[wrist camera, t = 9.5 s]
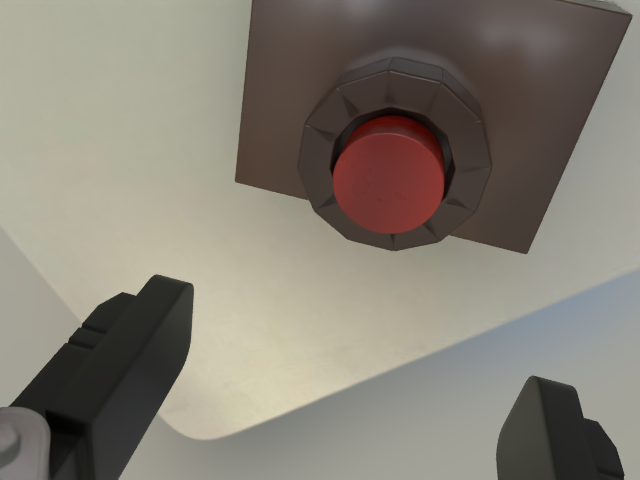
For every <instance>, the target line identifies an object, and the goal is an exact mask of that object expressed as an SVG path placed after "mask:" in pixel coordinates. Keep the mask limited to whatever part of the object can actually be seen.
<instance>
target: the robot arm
mask: <svg viewBox="0 0 640 480" xmlns="http://www.w3.org/2000/svg"><path fill="white" fill-rule="evenodd" d="M193 298H194V287H193V285H192V284H191V283H188V282H184V281H180V280H176V279H173V278H169V277H165V276H161V275H158V274H156V275H154V276H152V277H151V278H150V280H149V281H148V282H147V283H146V284H145V286H144V287H143V288H142V289H141V291H140V292H139V293H138V294H137V296H135V295H131V294H128V293H124V292H122V293H120V294H118V295H116V296H114V297H113V298H111V299H109V300H107V301H105V302H104V303H102V304H100V305H98V306H97V308H96V309H95V310H94V311H93V312H92V313H91V314H90V316H89V317H88V318H87V319H86V320H85V321H84V322H83V323H82V327H81V328H78V329H77V330H76V332H75V333H74V334H73V335H72V336H71V337H70V338H69V341H68V343H65V344H64V345H63V346H62V348H60V350H59V351H58V352H57V353H56V354H55V355H54V356H53V358H52V359H51V360H50V361H49V362H48V363H47V364H46V365H45V367H44V368H43V369H42V370H41V371H40V372H39V373H38V375H37V376H36V377H35V378H34V379H33V380H32V382H31V383H30V384H29V385H28V386H27V387H26V388H25V389H24V390H23V392H22V393H21V394H20V395H19V396H18V397H17V398H16V399H15V401H14V402H13V403H12V404H11V405H10V406H8V407H1V408H0V480H118V479H119V477H120V475H121V474H122V472H123V470H124V468H125V467H126V465H127V463H128V462H129V460H130V458H131V456H132V455H133V453H134V451H135V450H136V448H137V446H138V444H139V443H140V441H141V439H142V437H143V436H144V434H145V432H146V431H147V429H148V427H149V425H150V424H151V422H152V420H153V418H154V417H155V415H156V413H157V412H158V410H159V408H160V406H161V405H162V403H163V401H164V400H165V398H166V396H167V394H168V393H169V391H170V389H171V387H172V386H173V384H174V382H175V381H176V379H177V377H178V375H179V374H180V372H181V370H182V368H183V366H184V364H185V361H186V358H187V355H188V352H189V348H190V343H191V330H192V314H193ZM496 460H497V473H498V480H624V472H623V468H622V465H621V462H620V458H619V455H618V452H617V449H616V447H615V445H614V444H613V443H612V441H611V440H610V438H609V437H608V436H607V434H606V433H605V431H604V430H603V428H602V427H601V426H600V424H599V423H598V422H597V421H593V420H590V419H586V418H584V417H583V413H582V409H581V406H580V402H579V398H578V394H577V391H576V389H575V388H574V387H573V386H571V385H567V384H563V383H559V382H556V381H552V380H548V379H544V378H540V377H537V376H531V377H529V378H528V380H527V381H526V383H525V385H524V387H523V389H522V390H521V392H520V394H519V396H518V398H517V400H516V402H515V404H514V406H513V408H512V410H511V411H510V413H509V415H508V417H507V419H506V421H505V423H504V425H503V427H502V429H501V432H500V435H499V439H498V444H497V453H496Z"/></svg>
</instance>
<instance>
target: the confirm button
mask: <svg viewBox="0 0 640 480" xmlns="http://www.w3.org/2000/svg"><path fill="white" fill-rule="evenodd" d="M444 180H445V159H444V153H443V150H442V147H441V145H440V143H439V141H438V139H437V138H436V137H435V135H434V134H433V133H432V132H431V131H430V130H429V129H428V128H427V127H426V126H424V125H423V124H421V123H420V122H418V121H416V120H414V119H411V118H408V117H405V116H399V115H385V116H380V117H376V118H373V119H370V120H368V121H366V122H364V123H363V124H361V125H360V126H358V127H357V128H356V129H355V130H354V131H353V132H352V133H351V135H350V136H349V137H348V139H347V141H346V143H345V145H344V147H343V149H342V152H341V154H340V156H339V158H338V161H337V163H336V165H335V168H334V172H333V190H334V194H335V197H336V200H337V202H338V204H339V206H340V207H341V209H342V210H343V212H344V213H345V214H346V215H347V216H348V217H349V218H350V219H351V220H352V221H354V222H355V223H356V224H358V225H360V226H361V227H363V228H365V229H368V230H371V231H374V232H378V233H385V234H396V233H402V232H406V231H409V230H412V229H414V228H416V227H418V226H420V225H422V224H423V223H424V222H426V221H427V220H428V219H429V218H430V217H431V216H432V215H433V214H434V213H435V211H436V210H437V208H438V207H439V205H440V202H441V200H442V197H443V193H444Z"/></svg>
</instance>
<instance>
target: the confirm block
mask: <svg viewBox="0 0 640 480" xmlns="http://www.w3.org/2000/svg"><path fill="white" fill-rule="evenodd" d="M631 20H632V15H631V14H630V13H628V12H627V11H625V10H623V9H622V8H620V7H618V6H617V5H615V4H611V3H606V2H602V1H597V0H252V9H251V19H250V30H249V40H248V50H247V61H246V71H245V82H244V92H243V102H242V113H241V123H240V133H239V144H238V154H237V164H236V175H235V182H237V183H241V184H245V185H249V186H253V187H257V188H261V189H265V190H269V191H273V192H277V193H281V194H285V195H289V196H293V197H297V198H301V199H305V200H309V201H310V203H311V205H312V208H313V210H314V211H315V212H316V213H317V214H318V215H319V216H320V217H321V218H323V219H324V220H325V221H326V222H327V223H329V224H330V225H331V226H332V227H333V228H335V229H336V230H337V231H338V232H339V233H340V234H342V235H343V236H344V237H345V238H346V239H348V240H351V241H355V242H359V243H363V244H367V245H371V246H375V247H379V248H383V249H386V250H390V251H393V250H394V251H398V250H403V249H408V248H413V247H418V246H423V245H428V244H433V243H437V242H439V241H441V240H443V239H444V238H445V237H446V236H448V235H451V236H455V237H459V238H463V239H467V240H471V241H475V242H479V243H483V244H487V245H491V246H495V247H499V248H503V249H507V250H511V251H515V252H519V253H523V254H527V253H528V251H529V249H530V246H531V244H532V242H533V240H534V237H535V235H536V233H537V231H538V228H539V226H540V224H541V222H542V220H543V217H544V215H545V213H546V211H547V208H548V206H549V204H550V202H551V199H552V197H553V195H554V193H555V190H556V188H557V186H558V184H559V181H560V179H561V177H562V175H563V172H564V170H565V168H566V166H567V163H568V161H569V159H570V157H571V154H572V152H573V150H574V148H575V145H576V143H577V141H578V139H579V136H580V134H581V132H582V130H583V127H584V125H585V123H586V121H587V118H588V116H589V114H590V112H591V109H592V107H593V105H594V103H595V100H596V98H597V96H598V94H599V91H600V89H601V87H602V85H603V82H604V80H605V78H606V76H607V73H608V71H609V69H610V67H611V64H612V62H613V60H614V58H615V55H616V53H617V51H618V49H619V46H620V44H621V42H622V40H623V37H624V35H625V33H626V31H627V28H628V26H629V24H630V22H631ZM385 115H399V116H405V117H408V118H411V119H414V120H416V121H418V122H420V123H421V124H423V125H424V126H426V127H427V128H428V129H429V130H430V131H431V132H432V133H433V134H434V135H435V137H436V138H437V139H438V141H439V143H440V145H441V147H442V150H443V153H444V159H445V180H444V193H443V197H442V200H441V202H440V205H439V207H438V208H437V210H436V211H435V213H434V214H433V215H432V216H431V217H430V218H429V219H428V220H427V221H426V222H424V223H423V224H422V225H420V226H418V227H416V228H414V229H412V230H409V231H406V232H402V233H396V234H385V233H378V232H374V231H371V230H368V229H365V228H363V227H361V226H360V225H358V224H356V223H355V222H354V221H352V220H351V219H350V218H349V217H348V216H347V215H346V214H345V213H344V212H343V210H342V209H341V207H340V206H339V204H338V202H337V200H336V197H335V194H334V190H333V172H334V168H335V165H336V163H337V161H338V158H339V156H340V154H341V152H342V149H343V147H344V145H345V143H346V141H347V139H348V137H349V136H350V135H351V133H352V132H353V131H354V130H355V129H356V128H357V127H358V126H360V125H361V124H363V123H364V122H366V121H368V120H370V119H373V118H376V117H380V116H385Z"/></svg>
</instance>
